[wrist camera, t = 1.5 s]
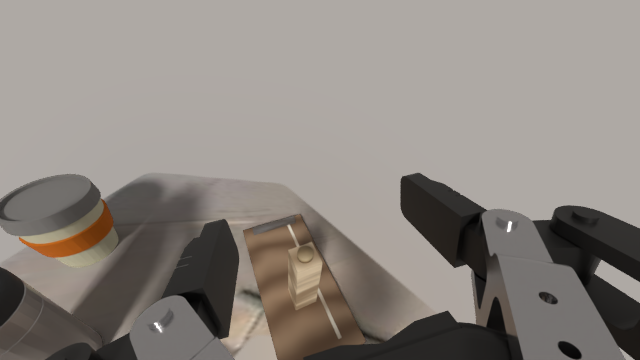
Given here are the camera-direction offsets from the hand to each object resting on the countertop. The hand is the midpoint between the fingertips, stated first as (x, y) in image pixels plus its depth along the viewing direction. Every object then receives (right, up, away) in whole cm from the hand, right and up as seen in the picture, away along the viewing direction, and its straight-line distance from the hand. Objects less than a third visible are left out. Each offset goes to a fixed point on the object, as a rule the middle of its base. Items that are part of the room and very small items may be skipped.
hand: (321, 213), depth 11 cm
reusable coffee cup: (-48, -13, +39) cm, 63 cm away
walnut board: (-5, -19, +37) cm, 42 cm away
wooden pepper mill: (-3, -20, +33) cm, 39 cm away
